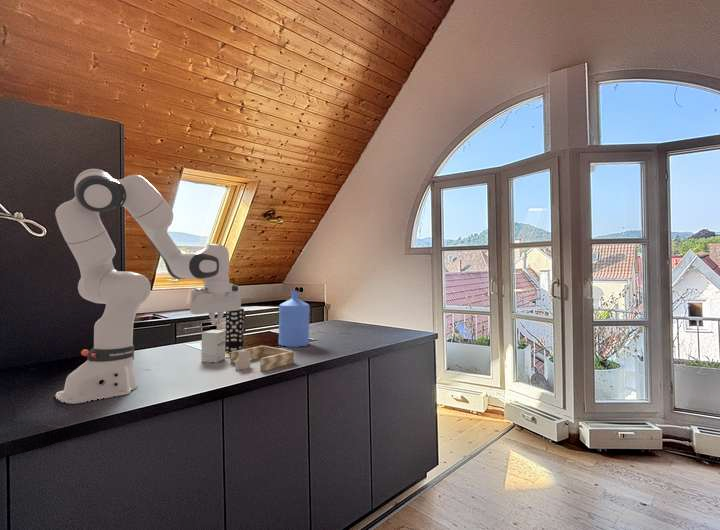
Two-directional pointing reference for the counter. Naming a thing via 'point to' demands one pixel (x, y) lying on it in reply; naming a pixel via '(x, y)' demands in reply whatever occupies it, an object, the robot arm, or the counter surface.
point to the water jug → (294, 322)
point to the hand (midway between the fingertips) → (216, 324)
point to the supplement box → (213, 346)
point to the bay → (267, 356)
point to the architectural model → (243, 360)
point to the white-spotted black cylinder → (234, 330)
